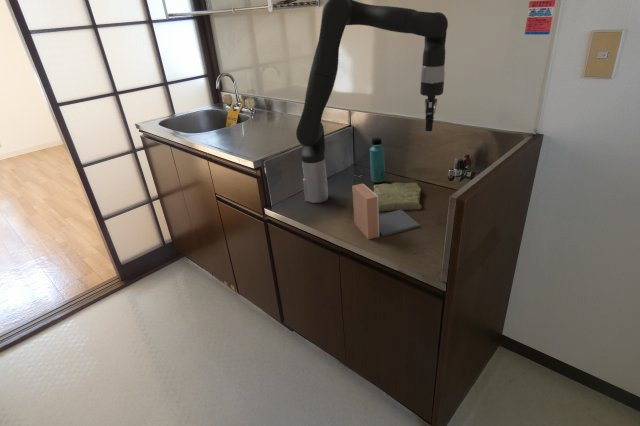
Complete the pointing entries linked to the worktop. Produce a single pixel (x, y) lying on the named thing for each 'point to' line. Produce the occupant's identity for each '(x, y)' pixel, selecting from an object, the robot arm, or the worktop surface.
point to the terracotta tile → (366, 210)
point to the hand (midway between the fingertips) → (429, 127)
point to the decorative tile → (398, 196)
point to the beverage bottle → (377, 161)
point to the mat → (395, 222)
